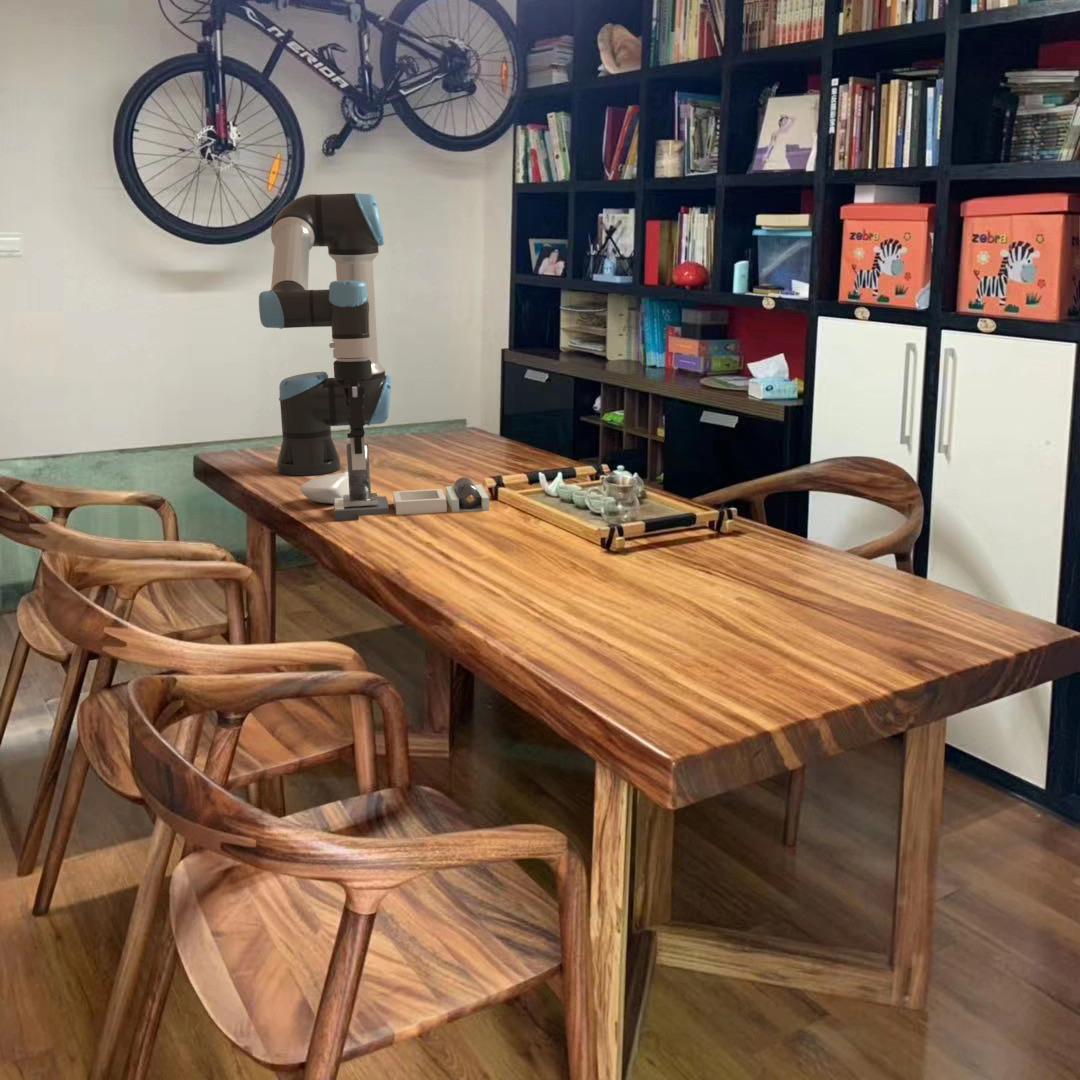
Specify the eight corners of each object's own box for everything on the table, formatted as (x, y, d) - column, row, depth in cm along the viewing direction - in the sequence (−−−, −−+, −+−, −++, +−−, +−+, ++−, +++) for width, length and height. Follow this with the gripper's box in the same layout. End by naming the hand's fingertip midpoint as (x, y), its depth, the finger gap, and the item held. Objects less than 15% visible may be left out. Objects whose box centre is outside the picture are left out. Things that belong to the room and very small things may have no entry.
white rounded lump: (367, 461, 262) (322, 447, 253) (364, 508, 259) (318, 495, 251) (338, 470, 269) (293, 457, 260) (334, 516, 266) (289, 504, 258)
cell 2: (453, 498, 256) (453, 477, 255) (474, 496, 257) (473, 476, 256) (460, 510, 245) (459, 489, 244) (481, 509, 246) (480, 488, 245)
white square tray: (393, 507, 253) (393, 491, 252) (442, 504, 255) (441, 488, 254) (396, 518, 243) (395, 502, 243) (446, 515, 245) (446, 499, 244)
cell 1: (349, 495, 250) (345, 439, 247) (370, 494, 251) (367, 438, 248) (349, 500, 246) (346, 443, 243) (371, 499, 246) (368, 442, 243)
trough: (446, 502, 257) (445, 486, 256) (481, 499, 259) (480, 484, 258) (452, 516, 245) (451, 499, 244) (489, 513, 246) (489, 497, 245)
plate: (343, 499, 251) (342, 494, 251) (376, 497, 252) (376, 492, 252) (343, 506, 245) (343, 502, 244) (378, 504, 246) (378, 500, 245)
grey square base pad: (334, 508, 253) (333, 497, 253) (386, 505, 255) (385, 494, 255) (334, 520, 243) (333, 509, 242) (389, 517, 245) (388, 506, 244)
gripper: (332, 354, 252) (338, 454, 257) (333, 366, 228) (340, 475, 233) (368, 353, 253) (374, 452, 259) (373, 364, 230) (379, 473, 235)
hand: (358, 463), depth 246 cm, fingers open, 13 cm apart
